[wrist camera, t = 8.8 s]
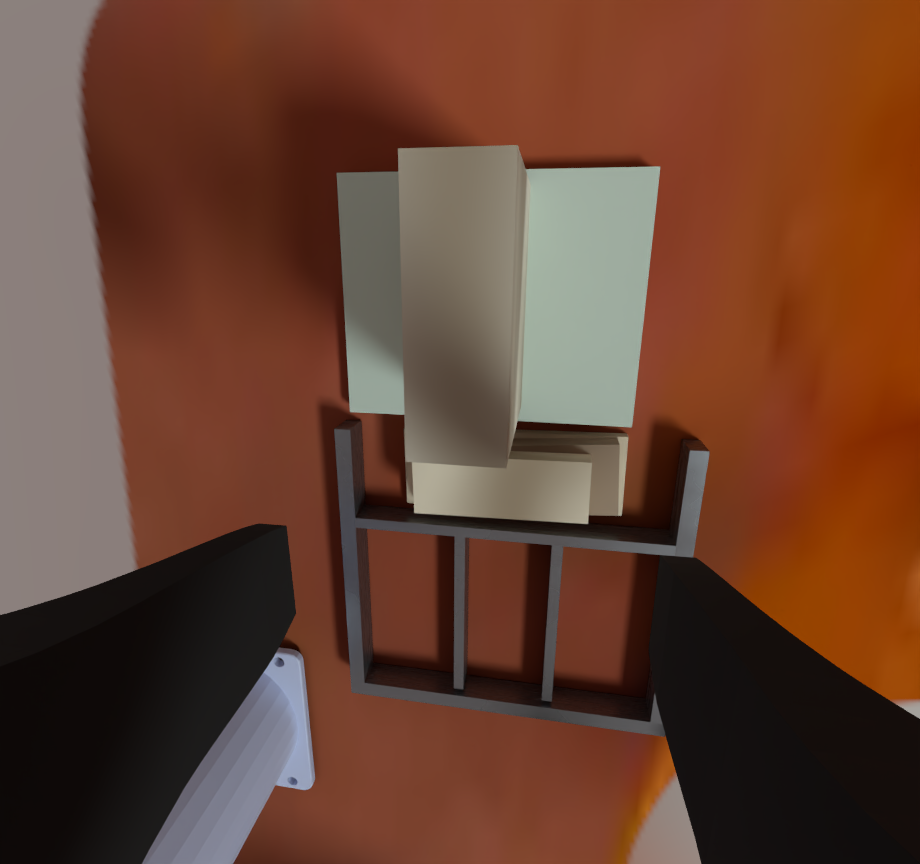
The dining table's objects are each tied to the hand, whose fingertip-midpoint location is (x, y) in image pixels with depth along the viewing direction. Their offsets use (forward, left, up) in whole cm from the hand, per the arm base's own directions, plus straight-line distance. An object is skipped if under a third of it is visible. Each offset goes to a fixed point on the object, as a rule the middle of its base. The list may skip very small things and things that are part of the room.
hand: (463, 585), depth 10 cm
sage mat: (-1, +5, -10) cm, 11 cm away
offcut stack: (0, -1, -10) cm, 10 cm away
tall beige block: (-1, +5, -9) cm, 10 cm away
